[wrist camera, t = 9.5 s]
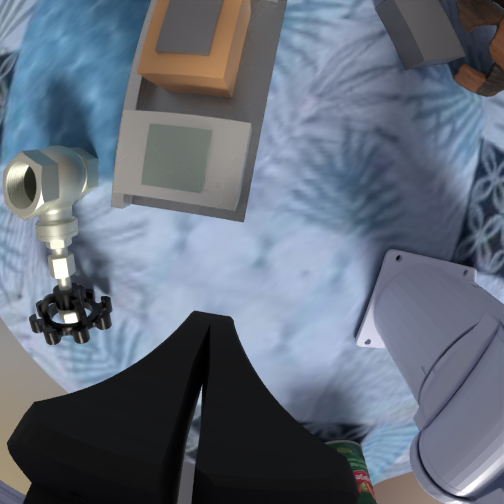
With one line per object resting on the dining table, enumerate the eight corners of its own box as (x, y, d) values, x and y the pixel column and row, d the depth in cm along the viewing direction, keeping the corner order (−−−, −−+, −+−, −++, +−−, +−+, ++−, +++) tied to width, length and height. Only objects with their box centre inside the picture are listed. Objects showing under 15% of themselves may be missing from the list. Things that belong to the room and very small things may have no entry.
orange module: (250, 13, 14) (249, -31, 9) (231, 98, 16) (222, 76, 11) (187, 8, 14) (166, -33, 9) (166, 91, 16) (133, 71, 11)
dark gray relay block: (416, 7, 14) (434, -7, 11) (443, 63, 15) (466, 55, 13) (374, 10, 14) (390, -7, 12) (403, 70, 16) (424, 60, 13)
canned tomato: (372, 437, 27) (397, 516, 16) (346, 471, 29) (361, 540, 19) (306, 439, 26) (318, 529, 16) (286, 473, 29) (292, 548, 19)
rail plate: (296, -43, 13) (307, -90, 7) (244, 218, 19) (239, 247, 14) (186, -52, 13) (169, -96, 7) (126, 199, 19) (82, 219, 13)
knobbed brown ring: (417, 74, 16) (451, -12, 8) (416, 16, 18) (434, -50, 10) (538, 141, 14) (591, 89, 6) (519, 70, 16) (553, 21, 7)
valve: (46, 148, 18) (60, 295, 22) (-14, 154, 11) (16, 335, 15) (120, 141, 18) (127, 304, 22) (64, 140, 12) (90, 355, 15)
